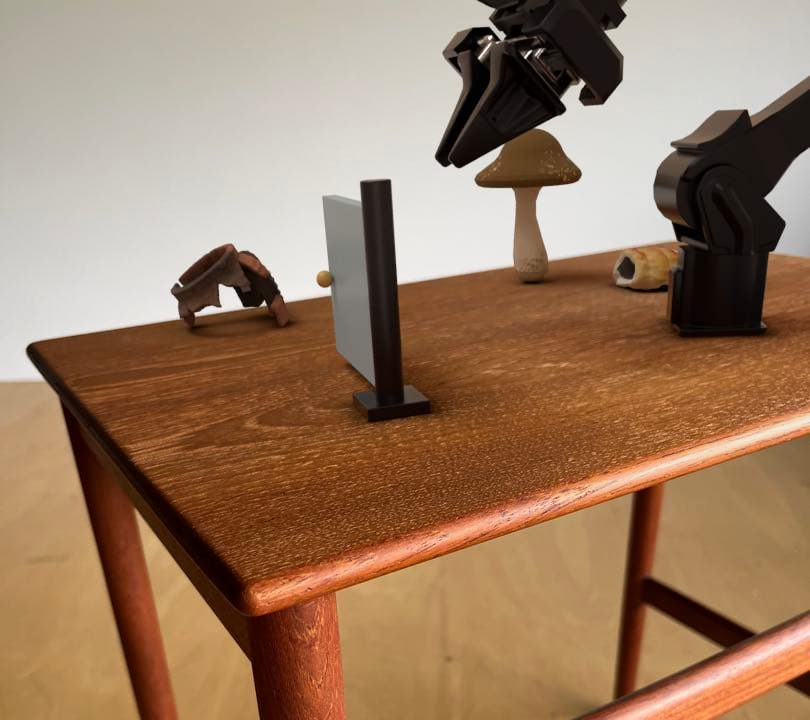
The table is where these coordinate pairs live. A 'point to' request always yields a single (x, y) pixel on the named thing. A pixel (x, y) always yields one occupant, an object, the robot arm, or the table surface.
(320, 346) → the table surface
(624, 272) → the pastry
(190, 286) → the broken clay pot shard
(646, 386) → the table surface
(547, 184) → the mushroom
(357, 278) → the door
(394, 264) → the door frame
